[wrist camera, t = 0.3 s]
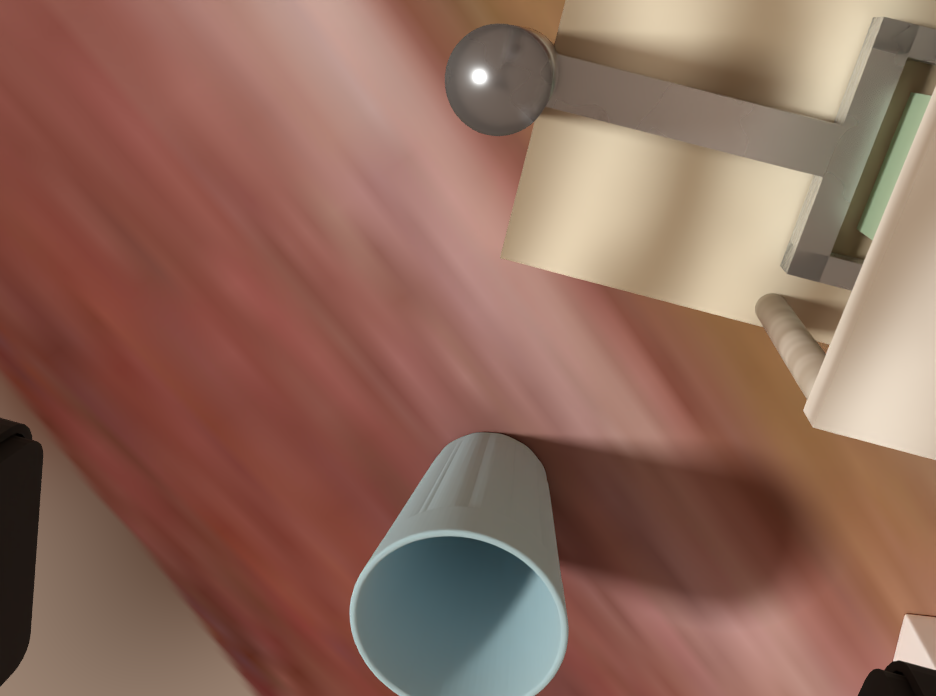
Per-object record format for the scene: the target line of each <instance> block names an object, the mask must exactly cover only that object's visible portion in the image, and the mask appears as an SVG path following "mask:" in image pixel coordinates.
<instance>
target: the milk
mask: <svg viewBox="0 0 936 696" xmlns="http://www.w3.org/2000/svg"><path fill="white" fill-rule="evenodd" d="M898 660H900V661H904V662H908V663H911V664H915V665H919V666H922V667H926V668H930V669H934V670H936V617H930V616H921V615H912V614H905V616H904V620H903V624H902V628H901V632H900V635H899V639H898V643H897V647H896V651H895V655H894V659H893V661H898Z"/></svg>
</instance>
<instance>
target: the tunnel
mask: <svg viewBox="0 0 936 696" xmlns="http://www.w3.org/2000/svg"><path fill="white" fill-rule="evenodd" d="M873 17H887V18H891V19H896V20H900V21H904V22H908V23H912V24H916V25H920V26H924V27H928V28H932V29H936V0H566V1H565V5H564V9H563V13H562V17H561V21H560V25H559V29H558V33H557V37H556V41H555V44H554V47H555V49H556V51H557V53H558V54H562V55H566V56H570V57H574V58H578V59H582V60H586V61H590V62H594V63H598V64H602V65H606V66H610V67H614V68H618V69H622V70H626V71H630V72H634V73H638V74H642V75H645V76H649V77H653V78H657V79H661V80H665V81H669V82H673V83H677V84H681V85H685V86H689V87H693V88H697V89H701V90H705V91H709V92H713V93H717V94H721V95H725V96H729V97H733V98H737V99H741V100H745V101H749V102H753V103H757V104H761V105H765V106H769V107H773V108H777V109H781V110H784V111H788V112H792V113H796V114H800V115H804V116H808V117H812V118H816V119H820V120H824V121H828V122H832V123H834V120H835V118H836V115H837V112H838V110H839V107H840V104H841V102H842V99H843V96H844V94H845V91H846V88H847V86H848V83H849V80H850V78H851V75H852V72H853V70H854V67H855V64H856V62H857V59H858V56H859V54H860V51H861V48H862V46H863V43H864V40H865V38H866V35H867V32H868V29H869V27H870V24H871V21H872V19H873ZM911 92H912V93H918V94H924V95H930V96H931V99H930V101H929V104H928V106H927V109H926V111H925V113H924V116H923V118H922V121H921V123H920V126H919V128H918V131H917V133H916V135H915V138H914V140H913V143H912V145H911V148H910V150H909V153H908V155H907V157H906V160H905V162H904V165H903V167H902V170H901V172H900V175H899V177H898V180H897V182H896V184H895V187H894V189H893V192H892V194H891V197H890V199H889V202H888V204H887V206H886V209H885V211H884V214H883V216H882V219H881V221H880V224H879V226H878V228H877V231H876V233H875V236H874V238H873V240H871V239H870V238H868V237H867V236H866V235H864V234H863V233H861V232H860V231H859V230H857V226H858V224H859V221H860V219H861V216H862V214H863V211H864V209H865V206H866V204H867V201H868V199H869V196H870V194H871V191H872V189H873V186H874V184H875V181H876V179H877V176H878V174H879V171H880V169H881V166H882V163H883V161H884V158H885V156H886V153H887V151H888V148H889V146H890V143H891V141H892V138H893V136H894V133H895V131H896V128H897V126H898V123H899V121H900V118H901V116H902V113H903V111H904V108H905V106H906V103H907V101H908V98H909V96H910V93H911ZM813 177H814V175H812V174H808V173H804V172H800V171H796V170H792V169H788V168H784V167H780V166H777V165H773V164H769V163H765V162H761V161H757V160H753V159H749V158H745V157H741V156H737V155H733V154H729V153H725V152H722V151H718V150H714V149H710V148H706V147H702V146H698V145H694V144H690V143H686V142H682V141H678V140H674V139H670V138H667V137H663V136H659V135H655V134H651V133H647V132H643V131H639V130H635V129H631V128H627V127H623V126H619V125H615V124H612V123H608V122H604V121H600V120H596V119H592V118H588V117H584V116H580V115H576V114H572V113H568V112H564V111H560V110H557V109H553V108H549V107H545V108H544V110H543V111H542V113H541V114H540V115H539V117H538V118H537V119H536V120H535V123H534V127H533V131H532V135H531V139H530V143H529V147H528V150H527V154H526V158H525V162H524V166H523V170H522V174H521V178H520V182H519V186H518V190H517V194H516V198H515V202H514V205H513V209H512V213H511V217H510V221H509V225H508V229H507V233H506V237H505V241H504V245H503V249H502V253H501V257H500V258H502V259H506V260H510V261H513V262H517V263H521V264H525V265H529V266H533V267H536V268H540V269H544V270H548V271H552V272H555V273H559V274H563V275H567V276H571V277H574V278H578V279H582V280H586V281H590V282H593V283H597V284H601V285H605V286H609V287H613V288H616V289H620V290H624V291H628V292H632V293H635V294H639V295H643V296H647V297H651V298H654V299H658V300H662V301H666V302H670V303H673V304H677V305H681V306H685V307H689V308H693V309H696V310H700V311H704V312H708V313H712V314H715V315H719V316H723V317H727V318H731V319H734V320H738V321H742V322H746V323H750V324H753V325H757V326H761V327H764V329H765V330H766V332H767V334H768V335H769V337H770V339H771V340H772V342H773V344H774V345H775V347H776V349H777V350H778V352H779V354H780V355H781V357H782V359H783V360H784V362H785V364H786V365H787V367H788V369H789V370H790V372H791V374H792V375H793V377H794V379H795V380H796V382H797V384H798V385H799V387H800V389H801V390H802V392H803V394H804V395H805V397H806V399H807V402H806V405H805V407H804V410H803V411H804V413H805V414H806V416H807V418H808V420H809V421H810V423H811V425H812V427H814V428H817V429H821V430H825V431H829V432H832V433H836V434H840V435H844V436H847V437H851V438H855V439H859V440H862V441H866V442H870V443H874V444H877V445H881V446H885V447H889V448H892V449H896V450H900V451H904V452H907V453H911V454H915V455H919V456H922V457H926V458H930V459H934V460H936V66H934V65H930V64H926V63H922V62H918V61H914V60H910V59H907V60H906V63H905V65H904V68H903V70H902V73H901V75H900V78H899V81H898V83H897V86H896V88H895V91H894V93H893V96H892V98H891V101H890V103H889V106H888V109H887V111H886V114H885V116H884V119H883V121H882V124H881V126H880V129H879V131H878V134H877V136H876V139H875V142H874V144H873V147H872V149H871V152H870V154H869V157H868V159H867V162H866V164H865V167H864V170H863V172H862V175H861V177H860V180H859V182H858V185H857V187H856V190H855V192H854V195H853V198H852V200H851V203H850V205H849V208H848V210H847V213H846V215H845V218H844V220H843V223H842V226H841V228H840V231H839V233H838V236H837V238H836V241H835V243H834V246H833V248H832V251H831V252H835V253H839V254H843V255H847V256H851V257H855V258H858V259H862V260H864V263H863V265H862V268H861V270H860V273H859V275H858V277H857V280H856V282H855V285H854V287H853V290H852V291H850V290H847V289H843V288H839V287H835V286H831V285H827V284H823V283H820V282H816V281H812V280H808V279H804V278H800V277H796V276H793V275H789V274H786V272H785V271H784V270H783V269H782V268H781V266H780V265H781V262H782V260H783V257H784V254H785V251H786V249H787V246H788V243H789V241H790V238H791V235H792V233H793V230H794V227H795V225H796V222H797V219H798V217H799V214H800V211H801V209H802V206H803V203H804V201H805V198H806V195H807V193H808V190H809V187H810V185H811V182H812V179H813ZM816 341H818V342H822V343H826V344H830V346H829V348H828V351H827V353H826V354H825V352H824V351H823V350H822V348H821V347H820V346H819V344H818V343H817V342H816Z"/></svg>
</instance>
